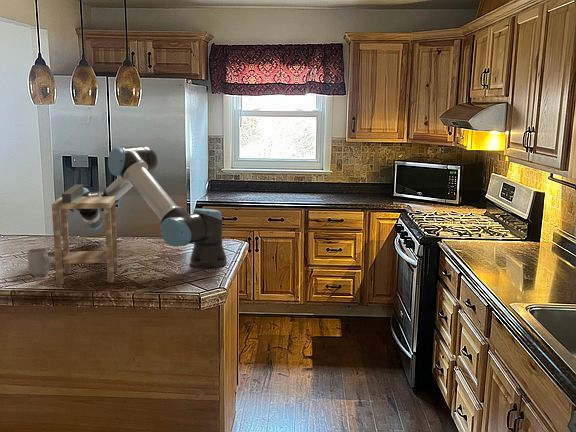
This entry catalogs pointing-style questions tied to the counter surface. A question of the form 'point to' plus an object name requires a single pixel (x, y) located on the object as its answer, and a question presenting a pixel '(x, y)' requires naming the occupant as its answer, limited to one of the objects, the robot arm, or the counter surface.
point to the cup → (38, 261)
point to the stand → (84, 256)
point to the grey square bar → (72, 193)
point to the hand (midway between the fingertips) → (81, 195)
